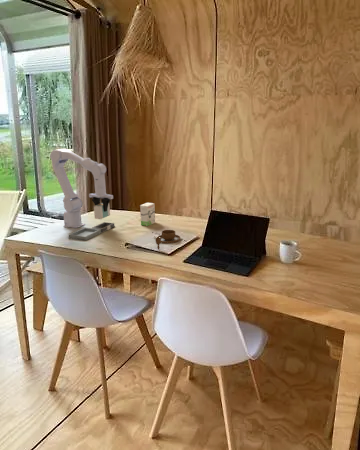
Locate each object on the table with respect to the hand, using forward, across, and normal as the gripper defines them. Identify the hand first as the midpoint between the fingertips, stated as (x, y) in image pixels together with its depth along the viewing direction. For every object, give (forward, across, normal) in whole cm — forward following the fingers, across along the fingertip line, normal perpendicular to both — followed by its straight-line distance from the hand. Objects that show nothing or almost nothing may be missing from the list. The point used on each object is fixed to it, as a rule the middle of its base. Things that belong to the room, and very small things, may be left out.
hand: (102, 210), depth 203 cm
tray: (+10, -2, -14) cm, 17 cm away
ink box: (+11, +19, +18) cm, 28 cm away
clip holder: (+10, 0, 0) cm, 10 cm away
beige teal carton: (+3, 0, 0) cm, 3 cm away
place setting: (+11, +41, -9) cm, 43 cm away
